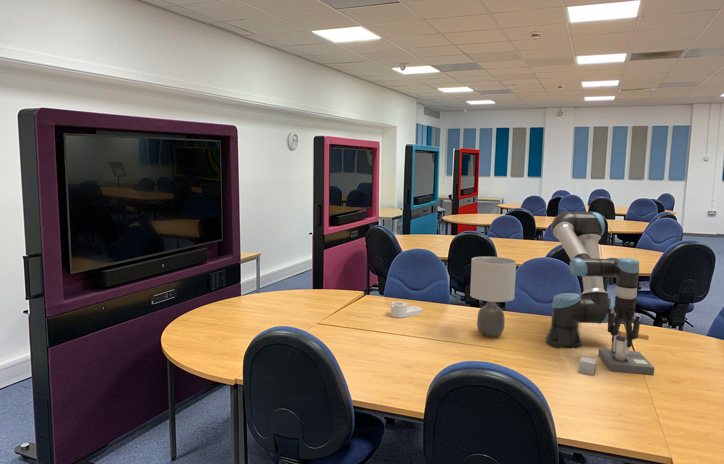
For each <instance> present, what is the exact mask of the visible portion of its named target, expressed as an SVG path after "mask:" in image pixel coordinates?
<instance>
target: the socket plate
mask: <svg viewBox="0 0 724 464" xmlns="http://www.w3.org/2000/svg"><path fill="white" fill-rule="evenodd" d="M597 353H598V356H599V358H600V359H601V361H602V362H603V364H604V365H605V366H606V368H607V370H608V371H609V372H619V373H629V374H639V375H641V374H642V375H650V376H653V375H654V372H655V366H653V365H652V364H651V363H650V361H649V360H648V359H646V357H645V356H644V355H643V354H642V353H641V352H640V351H635V350H629V354H627V355H626V360H625V362H619V361H615V353H616V351H615V352H614V351H613V342H612V341H611V349H609V348H600V347H599V348H598V352H597Z"/></svg>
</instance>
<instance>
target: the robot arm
mask: <svg viewBox="0 0 724 464" xmlns="http://www.w3.org/2000/svg"><path fill="white" fill-rule="evenodd" d="M605 224H606V223H605V220H604V218H603V216H602V215H601V214H600V213H599V212H595V211H563V212H561V213H559V214H557V215H556V216H555V217H554V218H553V220H552V222H551V226H550V227H551V228H550V229H551V233H552V235H553V236H554V237H555V238H556V239H557V240H558V241H559V242H560V244H561V245H562V248H563V249H564V251H565V253H566V254H567V255H568V258H569V259H570V262H569V270H570V271H569V272H570V274H571V275H572V276H576V277H581V279H582V285H583V291H582V292H581V294H578V293H576V292H575V293H574V292H573V293H571V292H563V293H558V294H555V295H554V296H553V299H552V304H551V323H550V324H551V325H550V328H549V330H548V332H547V335H546V339H545V342H546V343H547V345H550V346H551V347H554V348H558V349H559V348H561V349H570V350H571V349H578V348H581V346H582V337H581V335H580V331H579V325H580V324H582V323H583V324H599V325H600V324H607V332H608V333H610V335H611V334H612V335H611V343H612V342H613V351H614V352H615V351H616V342H617V336H620V335H617V334H619V333H618V331H620V327H621V324H622V321H623V320H624V324H625V332H626V334H627V338H626V339H625V343H624V355H627V354H629V351H630V348H631V347H632V345H633V340H634V341H635V340H637V338H638V334H640V333H639V332H640V326H641V320H642V319H643V316H642V315H639V314H638V313H637V311H636V306H637V299H636V298H637V295H638V293H637V292H638V284H639V276H640V275H639V273H640V261H639V260H638V259H636V258H632V257H631V258H630V257H622V258H621V257H619V258H618V257H608V258H601V255H600V247H599V246H600V245H599V241H600V240H601V239H602V236H603V235H604V233H605V228H606V225H605ZM604 277H605V278H606V277H607V278H615V279H616V285H615V292H614V293H615V295H616V296H615V297H614V298H615V299H614V298H612V297H609V293H608V291H606V290H605V288H604V279H603V278H604ZM615 315H616V316H615ZM633 319H634V320H633ZM632 322H633V323H632Z"/></svg>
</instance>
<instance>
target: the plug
mask: <svg viewBox="0 0 724 464" xmlns="http://www.w3.org/2000/svg"><path fill="white" fill-rule="evenodd" d="M626 338H627V337H624V336H617V342H616V353H615V361H619V362H625V360H626V355H624V343H625V339H626Z"/></svg>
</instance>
